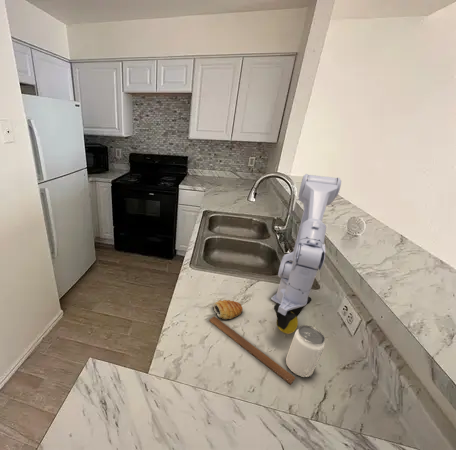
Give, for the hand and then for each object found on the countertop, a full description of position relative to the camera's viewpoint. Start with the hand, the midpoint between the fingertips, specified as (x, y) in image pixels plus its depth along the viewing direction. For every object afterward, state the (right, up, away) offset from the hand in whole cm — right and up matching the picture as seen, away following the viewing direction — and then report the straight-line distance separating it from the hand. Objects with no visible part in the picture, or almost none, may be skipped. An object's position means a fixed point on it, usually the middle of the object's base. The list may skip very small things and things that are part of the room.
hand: (287, 320), depth 75 cm
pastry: (-16, -1, +9) cm, 18 cm away
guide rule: (-13, -6, -3) cm, 15 cm away
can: (-1, -9, -8) cm, 12 cm away
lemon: (0, -4, +2) cm, 5 cm away
